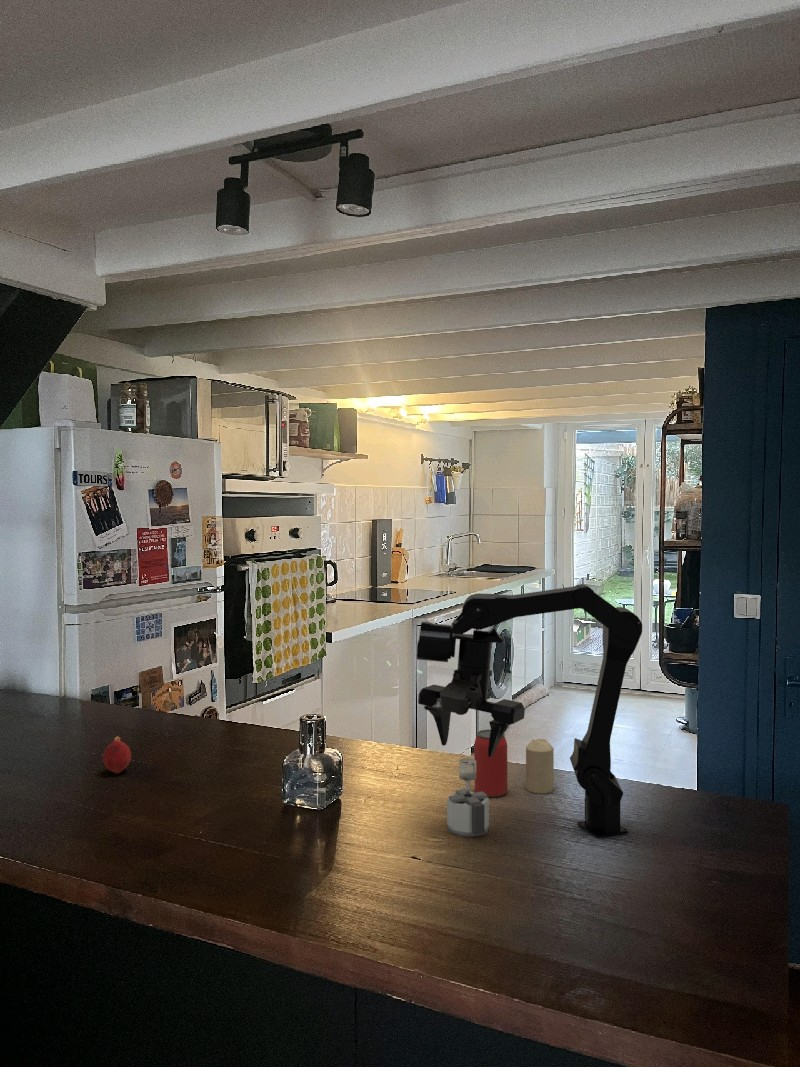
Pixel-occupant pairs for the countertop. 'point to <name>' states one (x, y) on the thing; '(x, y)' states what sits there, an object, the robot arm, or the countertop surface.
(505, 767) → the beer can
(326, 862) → the countertop surface
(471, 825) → the grey faceted drum
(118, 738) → the onion
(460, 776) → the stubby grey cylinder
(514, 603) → the robot arm
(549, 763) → the candle
